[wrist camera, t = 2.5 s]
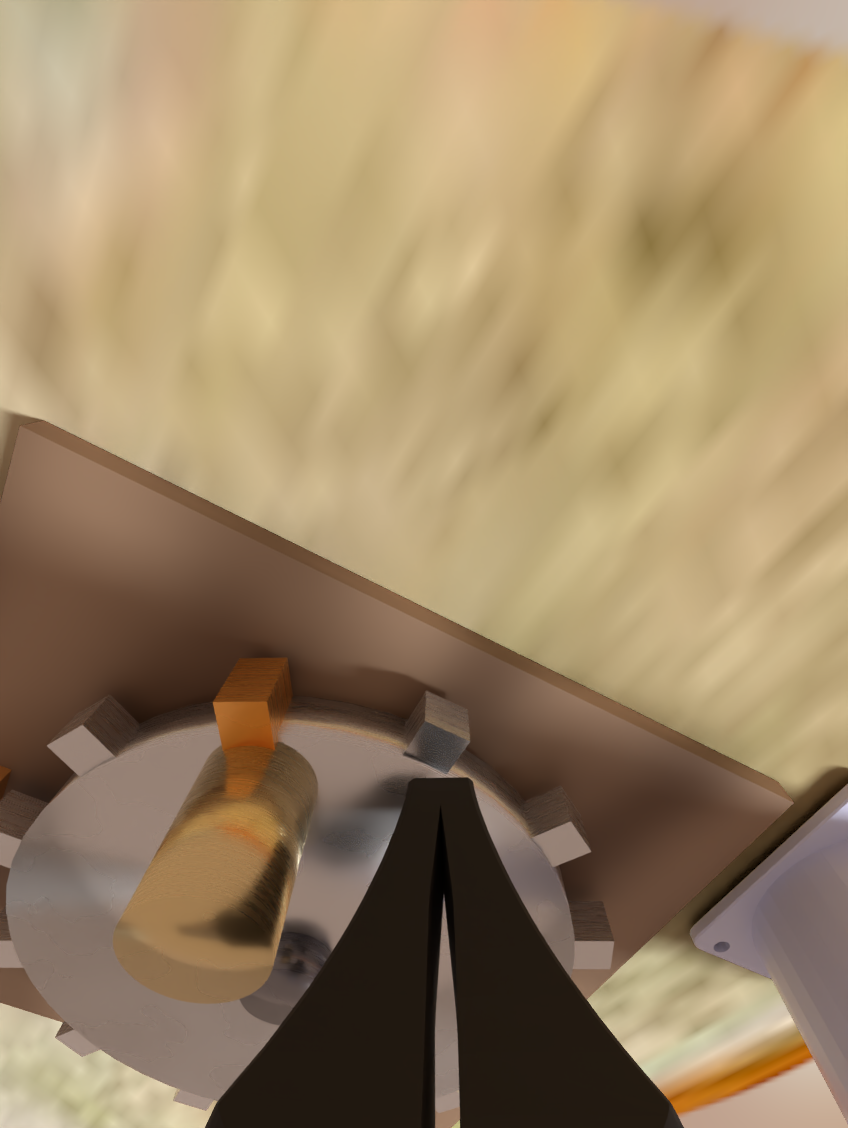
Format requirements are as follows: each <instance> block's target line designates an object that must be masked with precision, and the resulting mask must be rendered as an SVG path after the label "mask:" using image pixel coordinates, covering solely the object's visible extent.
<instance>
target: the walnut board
mask: <svg viewBox="0 0 848 1128" xmlns="http://www.w3.org/2000/svg"><path fill="white" fill-rule="evenodd" d="M239 658H287V659H288V666H289V673H290V680H291V687H292V694H293V696H308V697H316V698H323V699H329V700H336V701H342V702H349V703H353V704H357V705H361V706H365V707H369V708H372V709H376V710H380V711H384V712H387V713H391V714H393V715H396V716H399V717H401V718H404V719H406V720H407V719H408V718H409V716H410V714H411V713H412V711H413V710H414V708H415V707H416V705H417V704H418V702H419V701H420V699H421V697H422V696H423V694H424V693H425V691H428V692H431V693H433V694H435V695H437V696H439V697H441V698H444V699H446V700H448V701H450V702H452V703H454V704H456V705H459V706H461V707H463V708H465V709H467V710H468V720H469V732H470V743H469V744H468V745H467V747H466V748H465V749H467V750H468V751H470V752H471V753H472V754H474V755H475V756H477V757H478V758H480V759H481V760H483V761H484V762H485V763H487V764H488V765H490V766H491V767H492V768H493V769H494V770H495V771H496V772H497V773H499V774H500V775H501V776H502V777H503V778H504V779H505V780H506V781H507V782H508V783H510V784H511V785H512V786H513V787H514V788H515V789H516V790H517V792H518V793H519V794H520V795H521V797H522V798H523V799H524V800H525V801H527V800H529V799H531V798H534V797H536V796H538V795H540V794H543V793H545V792H547V791H550V790H552V789H554V788H556V787H559V786H561V787H562V788H563V789H564V791H565V792H566V794H567V795H568V797H569V798H570V800H571V801H572V803H573V804H574V806H575V807H576V809H577V810H578V812H579V813H580V815H581V818H582V822H583V825H584V828H585V832H586V835H587V838H588V842H589V845H590V848H591V852H590V853H587V854H585V855H582V856H580V857H577V858H575V859H572V860H570V861H567V862H565V863H562V864H560V865H559V866H560V870H561V875H562V879H563V883H564V888H565V892H566V896H567V900H568V901H603V904H604V908H605V911H606V914H607V918H608V921H609V925H610V928H611V931H612V935H613V938H614V947H613V954H612V961H611V968H610V969H573V970H572V975H571V979H572V980H573V982H574V983H575V985H576V986H577V987H578V989H579V990H580V991H581V993H582V994H583V996H584V997H585V998H586V1000H587V999H588V998H589V997H590V996H591V995H592V994H593V993H594V992H595V991H596V990H597V989H598V988H599V987H600V986H601V985H602V984H603V983H604V982H606V981H607V980H608V979H609V978H610V977H611V976H612V975H613V974H614V973H615V972H616V971H617V970H618V969H619V968H620V967H621V966H622V965H623V964H625V963H626V962H627V961H628V960H629V959H630V958H631V957H632V956H633V955H634V954H635V953H636V952H637V951H638V950H639V949H640V948H641V947H642V946H644V945H645V944H646V943H647V942H648V941H649V940H650V939H651V938H652V937H653V936H654V935H655V934H656V933H657V932H658V931H659V930H660V929H661V928H663V927H664V926H665V925H666V924H667V923H668V922H669V921H670V920H671V919H672V918H673V917H674V916H675V915H676V914H677V913H678V912H679V911H681V910H682V909H683V908H684V907H685V906H686V905H687V904H688V903H689V902H690V901H691V900H692V899H693V898H694V897H695V896H696V895H697V894H698V893H700V892H701V891H702V890H703V889H704V888H705V887H706V886H707V885H708V884H709V883H710V882H711V881H712V880H713V879H714V878H715V877H716V876H717V875H719V874H720V873H721V872H722V871H723V870H724V869H725V868H726V867H727V866H728V865H729V864H730V863H731V862H732V861H733V860H734V859H735V858H736V857H738V856H739V855H740V854H741V853H742V852H743V851H744V850H745V849H746V848H747V847H748V846H749V845H750V844H751V843H752V842H753V841H754V840H755V839H757V838H758V837H759V836H760V835H761V834H762V833H763V832H764V831H765V830H766V829H767V828H768V827H769V826H770V825H771V824H772V823H773V822H775V821H776V820H777V819H778V818H779V817H780V816H781V815H782V814H783V813H784V812H785V811H786V810H787V809H788V808H789V807H790V806H791V805H792V804H794V802H793V801H792V799H791V798H790V797H789V795H788V794H787V793H786V792H785V790H784V789H783V788H782V786H781V785H780V784H779V782H777V781H775V780H773V779H771V778H769V777H767V776H765V775H763V774H761V773H759V772H757V771H755V770H753V769H751V768H749V767H747V766H745V765H743V764H741V763H739V762H737V761H735V760H733V759H730V758H728V757H726V756H724V755H722V754H720V753H718V752H716V751H714V750H712V749H710V748H708V747H706V746H704V745H702V744H700V743H698V742H696V741H694V740H692V739H690V738H688V737H686V736H684V735H682V734H680V733H678V732H676V731H674V730H672V729H670V728H667V727H665V726H663V725H661V724H659V723H657V722H655V721H653V720H651V719H649V718H647V717H645V716H643V715H641V714H639V713H637V712H635V711H633V710H631V709H629V708H627V707H625V706H623V705H621V704H619V703H617V702H615V701H613V700H611V699H609V698H607V697H604V696H602V695H600V694H598V693H596V692H594V691H592V690H590V689H588V688H586V687H584V686H582V685H580V684H578V683H576V682H574V681H572V680H570V679H568V678H566V677H564V676H562V675H560V674H558V673H556V672H554V671H552V670H550V669H548V668H546V667H544V666H541V665H539V664H537V663H535V662H533V661H531V660H529V659H527V658H525V657H523V656H521V655H519V654H517V653H515V652H513V651H511V650H509V649H507V648H505V647H503V646H501V645H499V644H497V643H495V642H493V641H491V640H489V639H487V638H485V637H483V636H480V635H478V634H476V633H474V632H472V631H470V630H468V629H466V628H464V627H462V626H460V625H458V624H456V623H454V622H452V621H450V620H448V619H446V618H444V617H442V616H440V615H438V614H436V613H434V612H432V611H430V610H428V609H426V608H424V607H422V606H420V605H417V604H415V603H413V602H411V601H409V600H407V599H405V598H403V597H401V596H399V595H397V594H395V593H393V592H391V591H389V590H387V589H385V588H383V587H381V586H379V585H377V584H375V583H373V582H371V581H369V580H367V579H365V578H363V577H361V576H359V575H357V574H354V573H352V572H350V571H348V570H346V569H344V568H342V567H340V566H338V565H336V564H334V563H332V562H330V561H328V560H326V559H324V558H322V557H320V556H318V555H316V554H314V553H312V552H310V551H308V550H306V549H304V548H302V547H300V546H298V545H296V544H294V543H291V542H289V541H287V540H285V539H283V538H281V537H279V536H277V535H275V534H273V533H271V532H269V531H267V530H265V529H263V528H261V527H259V526H257V525H255V524H253V523H251V522H249V521H247V520H245V519H243V518H241V517H239V516H237V515H235V514H233V513H231V512H228V511H226V510H224V509H222V508H220V507H218V506H216V505H214V504H212V503H210V502H208V501H206V500H204V499H202V498H200V497H198V496H196V495H194V494H192V493H190V492H188V491H186V490H184V489H182V488H180V487H178V486H176V485H174V484H172V483H170V482H168V481H165V480H163V479H161V478H159V477H157V476H155V475H153V474H151V473H149V472H147V471H145V470H143V469H141V468H139V467H137V466H135V465H133V464H131V463H129V462H127V461H125V460H123V459H121V458H119V457H117V456H115V455H113V454H111V453H109V452H107V451H104V450H102V449H100V448H98V447H96V446H94V445H92V444H90V443H88V442H86V441H84V440H82V439H80V438H78V437H76V436H74V435H72V434H70V433H68V432H66V431H64V430H62V429H60V428H58V427H56V426H54V425H52V424H50V423H48V422H46V421H39V422H35V423H30V424H25V425H20V427H19V431H18V435H17V439H16V443H15V447H14V451H13V455H12V459H11V463H10V467H9V471H8V475H7V479H6V483H5V487H4V490H3V494H2V498H1V502H0V802H1V801H2V800H3V799H4V798H5V797H6V796H7V794H8V793H9V792H10V791H11V790H14V791H17V792H20V793H22V794H25V795H27V796H30V797H33V798H35V799H38V800H41V801H43V802H46V803H49V802H50V801H51V800H52V799H53V797H54V796H55V795H56V794H57V793H58V791H59V790H60V789H61V788H62V787H63V785H64V784H65V783H66V782H67V781H68V779H69V778H70V777H71V776H72V775H73V773H74V771H73V770H72V769H71V768H70V767H69V766H68V765H67V764H66V763H65V762H63V761H62V760H61V759H60V758H59V757H58V756H57V755H56V754H55V753H54V752H53V751H52V750H51V749H50V748H48V747H47V745H48V744H49V743H50V742H51V740H52V739H53V738H54V737H55V736H56V735H57V734H58V733H59V732H60V731H61V730H62V729H63V728H64V727H65V726H66V725H67V724H68V723H69V722H70V721H71V720H72V718H73V717H74V716H75V715H76V714H78V713H79V712H81V711H83V710H85V709H86V708H88V707H90V706H91V705H93V704H95V703H96V702H98V701H100V700H102V699H103V698H105V697H107V696H108V695H111V696H112V697H113V698H114V699H115V700H116V701H117V702H118V703H119V704H120V705H121V706H122V707H123V708H124V709H125V710H126V711H127V712H128V713H129V714H130V715H131V716H132V717H133V718H134V719H135V720H136V721H137V722H138V723H139V724H141V723H143V722H145V721H147V720H149V719H151V718H153V717H155V716H158V715H161V714H164V713H167V712H170V711H173V710H177V709H180V708H183V707H186V706H189V705H193V704H198V703H203V702H209V701H214V699H215V698H216V696H217V694H218V693H219V691H220V689H221V688H222V686H223V685H224V683H225V681H226V680H227V678H228V676H229V675H230V673H231V672H232V670H233V668H234V667H235V665H236V663H237V662H238V660H239ZM9 872H10V868H8V867H5V866H2V865H0V913H1V911H2V910H3V909H4V907H5V906H6V886H7V881H8V877H9ZM0 1003H3V1004H7V1005H10V1006H13V1007H16V1008H19V1009H22V1010H25V1011H29V1012H32V1013H35V1014H38V1015H41V1016H44V1017H48V1018H51V1019H54V1020H57V1021H60V1022H64V1020H63V1019H62V1018H61V1017H60V1016H59V1015H58V1014H57V1013H56V1012H55V1011H54V1009H53V1008H52V1007H51V1006H50V1005H49V1004H48V1003H47V1002H46V1000H45V999H44V998H43V997H42V995H41V994H40V993H39V991H38V990H37V989H36V987H35V986H34V985H33V983H32V982H31V980H30V978H29V977H28V975H27V973H26V971H25V969H24V968H0ZM459 1120H460V1107H457V1108H454V1109H451V1110H448V1111H444V1112H441V1113H438V1112H437V1111H436V1110H435V1128H451V1127H452V1126H453V1125H454V1124H456V1123H457V1122H458V1121H459Z"/></svg>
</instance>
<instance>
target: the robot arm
mask: <svg viewBox="0 0 848 1128" xmlns="http://www.w3.org/2000/svg"><path fill="white" fill-rule="evenodd" d="M444 899H445V909H446V919H447V929H448V939H449V948H450V958H451V968H452V977H453V987H454V997H455V1007H456V1020H457V1035H458V1067H459V1100H460V1128H684V1127H683V1125H682V1123H681V1121H680V1119H679V1117H678V1115H677V1114H676V1112H675V1110H674V1108H673V1106H672V1104H671V1103H670V1101H669V1100H668V1099H667V1098H666V1097H665V1096H664V1094H663V1093H662V1092H661V1091H660V1090H659V1089H658V1088H657V1086H656V1085H655V1084H654V1083H653V1082H652V1081H651V1080H650V1078H649V1077H648V1076H647V1075H646V1074H645V1073H644V1072H643V1070H642V1069H641V1068H640V1067H639V1066H638V1064H637V1063H636V1062H635V1061H634V1060H633V1058H632V1057H631V1056H630V1055H629V1054H628V1053H627V1051H626V1050H625V1049H624V1048H623V1046H622V1045H621V1044H620V1043H619V1041H618V1040H617V1039H616V1038H615V1036H614V1035H613V1034H612V1033H611V1031H610V1030H609V1029H608V1028H607V1026H606V1025H605V1024H604V1023H603V1021H602V1020H601V1019H600V1018H599V1016H598V1015H597V1013H596V1012H595V1011H594V1009H593V1008H592V1007H591V1005H590V1004H589V1002H588V1001H587V1000H586V998H585V997H584V996H583V994H582V993H581V991H580V990H579V989H578V987H577V986H576V985H575V983H574V982H573V980H572V979H571V978H570V976H569V975H568V974H567V972H566V971H565V969H564V968H563V966H562V965H561V963H560V962H559V960H558V959H557V957H556V956H555V954H554V953H553V951H552V950H551V948H550V947H549V945H548V944H547V942H546V940H545V939H544V937H543V935H542V934H541V932H540V931H539V929H538V927H537V926H536V924H535V922H534V921H533V919H532V917H531V916H530V914H529V912H528V910H527V909H526V907H525V905H524V903H523V902H522V900H521V898H520V896H519V894H518V892H517V890H516V888H515V887H514V885H513V883H512V881H511V879H510V877H509V875H508V873H507V871H506V869H505V867H504V865H503V863H502V861H501V858H500V856H499V854H498V852H497V850H496V847H495V845H494V843H493V841H492V838H491V836H490V834H489V831H488V829H487V826H486V824H485V821H484V818H483V816H482V813H481V810H480V807H479V804H478V801H477V797H476V793H475V790H474V784H473V781H472V780H471V779H470V778H468V777H452V778H413V779H412V780H411V781H410V782H409V783H408V788H407V793H406V797H405V800H404V804H403V807H402V810H401V813H400V816H399V819H398V822H397V824H396V827H395V830H394V832H393V835H392V837H391V839H390V842H389V844H388V847H387V849H386V851H385V854H384V856H383V858H382V861H381V863H380V865H379V867H378V869H377V871H376V873H375V875H374V877H373V879H372V881H371V883H370V885H369V887H368V889H367V891H366V894H365V896H364V897H363V899H362V901H361V903H360V905H359V907H358V909H357V910H356V912H355V914H354V916H353V918H352V919H351V921H350V923H349V925H348V926H347V928H346V930H345V931H344V933H343V935H342V936H341V938H340V940H339V941H338V943H337V945H336V946H335V948H334V949H333V951H332V952H331V954H330V956H329V957H328V959H327V960H326V962H325V963H324V965H323V966H322V968H321V969H320V971H319V973H318V974H317V976H316V977H315V978H314V980H313V981H312V983H311V984H310V986H309V987H308V989H307V990H306V991H305V993H304V994H303V996H302V997H301V998H300V1000H299V1001H298V1002H297V1004H296V1005H295V1006H294V1008H293V1009H292V1010H291V1012H290V1013H289V1014H288V1016H287V1017H286V1018H285V1020H284V1021H283V1022H282V1024H281V1025H280V1026H279V1028H278V1029H277V1030H276V1032H275V1033H274V1034H273V1036H272V1037H271V1038H270V1039H269V1041H268V1042H267V1043H266V1044H265V1046H264V1047H263V1048H262V1049H261V1051H260V1052H259V1053H258V1054H257V1055H256V1056H255V1058H254V1059H253V1060H252V1061H251V1062H250V1064H249V1065H248V1066H247V1067H246V1068H245V1069H244V1071H243V1072H242V1073H241V1074H240V1075H239V1077H238V1078H237V1079H236V1080H235V1081H234V1082H233V1084H232V1085H231V1086H230V1087H229V1088H228V1089H227V1091H226V1092H225V1093H224V1094H223V1095H222V1096H221V1098H220V1099H219V1100H218V1102H217V1103H216V1105H215V1107H214V1110H213V1112H212V1114H211V1116H210V1118H209V1120H208V1122H207V1124H206V1127H205V1128H435V1023H436V1002H437V987H438V973H439V959H440V944H441V930H442V916H443V901H444ZM690 936H691V938H692V940H693V943H694V945H695V947H697V948H698V949H700V950H703V951H705V952H708V953H710V954H712V955H715V956H717V957H720V958H722V959H724V960H727V961H729V962H732V963H734V964H736V965H739V966H741V967H744V968H746V969H748V970H751V971H753V972H756V973H758V974H760V975H763V976H765V977H768V978H770V979H772V980H773V982H774V984H775V986H776V988H777V990H778V992H779V993H780V995H781V997H782V999H783V1001H784V1003H785V1005H786V1007H787V1009H788V1011H789V1013H790V1015H791V1016H792V1018H793V1020H794V1022H795V1024H796V1026H797V1028H798V1030H799V1032H800V1034H801V1036H802V1037H803V1039H804V1041H805V1043H806V1045H807V1047H808V1049H809V1051H810V1053H811V1055H812V1057H813V1059H814V1060H815V1062H816V1064H817V1066H818V1068H819V1070H820V1072H821V1074H822V1076H823V1077H824V1080H825V1081H826V1083H827V1085H828V1087H829V1089H830V1091H831V1093H832V1095H833V1096H834V1099H835V1101H836V1102H837V1104H838V1106H839V1108H840V1110H841V1112H842V1114H843V1116H844V1118H845V1120H846V1122H847V1123H848V784H847V785H845V786H844V787H843V788H842V789H841V790H840V791H839V792H838V793H837V794H836V795H835V796H834V797H832V798H831V799H830V800H829V801H828V802H827V803H826V804H825V805H824V806H823V807H822V808H821V809H819V810H818V811H817V812H816V813H815V814H814V815H813V816H812V817H811V818H810V819H809V820H807V821H806V822H805V823H804V824H803V825H802V826H801V827H800V828H799V829H798V830H797V831H796V832H794V833H793V834H792V835H791V836H790V837H789V838H788V839H787V840H786V841H785V842H784V843H782V844H781V845H780V846H779V847H778V848H777V849H776V850H775V851H774V852H773V853H772V854H771V855H769V856H768V857H767V858H766V859H765V860H764V861H763V862H762V863H761V864H760V865H759V866H758V867H756V868H755V869H754V870H753V871H752V872H751V873H750V874H749V875H748V876H747V877H746V878H744V879H743V880H742V881H741V882H740V883H739V884H738V885H737V886H736V887H735V888H734V889H733V890H731V891H730V892H729V893H728V894H727V895H726V896H725V897H724V898H723V899H722V900H721V901H719V902H718V903H717V904H716V905H715V906H714V907H713V908H712V909H711V910H710V911H709V912H708V913H706V914H705V915H704V916H703V917H702V918H701V919H700V920H699V921H698V922H697V923H696V924H695V925H693V927H692V928H691V930H690Z"/></svg>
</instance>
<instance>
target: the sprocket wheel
mask: <svg viewBox="0 0 848 1128" xmlns="http://www.w3.org/2000/svg"><path fill="white" fill-rule="evenodd" d="M469 743H470V732H469V720H468V710H467V709H465V708H463V707H461V706H459V705H456V704H454V703H452V702H450V701H448V700H446V699H444V698H441V697H439V696H437V695H435V694H433V693H431V692H428V691H425V693H424V694H423V696H422V697H421V699H420V701H419V702H418V704H417V705H416V707H415V708H414V710H413V711H412V713H411V714H410V716H409V718H408V719H407V720H406V719H404V718H401V717H399V716H396V715H393V714H391V713H387V712H384V711H380V710H376V709H372V708H369V707H365V706H361V705H357V704H353V703H349V702H342V701H336V700H329V699H323V698H316V697H308V696H293V694H292V687H291V680H290V673H289V666H288V659H287V658H239V660H238V662H237V663H236V665H235V667H234V668H233V670H232V672H231V673H230V675H229V676H228V678H227V680H226V681H225V683H224V685H223V686H222V688H221V689H220V691H219V693H218V694H217V696H216V698H215V699H214V701H209V702H203V703H198V704H193V705H189V706H186V707H183V708H180V709H177V710H173V711H170V712H167V713H164V714H161V715H158V716H155V717H153V718H151V719H149V720H147V721H145V722H143V723H141V724H139V723H138V722H137V721H136V720H135V719H134V718H133V717H132V716H131V715H130V714H129V713H128V712H127V711H126V710H125V709H124V708H123V707H122V706H121V705H120V704H119V703H118V702H117V701H116V700H115V699H114V698H113V697H112V696H111V695H108V696H107V697H105V698H103V699H102V700H100V701H98V702H96V703H95V704H93V705H91V706H90V707H88V708H86V709H85V710H83V711H81V712H79V713H78V714H76V715H75V716H74V717H73V718H72V720H71V721H70V722H69V723H68V724H67V725H66V726H65V727H64V728H63V729H62V730H61V731H60V732H59V733H58V734H57V735H56V736H55V737H54V738H53V739H52V740H51V742H50V743H49V744H48V745H47V747H48V748H50V749H51V750H52V751H53V752H54V753H55V754H56V755H57V756H58V757H59V758H60V759H61V760H62V761H63V762H65V763H66V764H67V765H68V766H69V767H70V768H71V769H72V770H73V771H74V773H73V775H72V776H71V777H70V778H69V779H68V781H67V782H66V783H65V784H64V785H63V787H62V788H61V789H60V790H59V791H58V793H57V794H56V795H55V796H54V797H53V799H52V800H51V801H50V802H49V803H46V802H43V801H41V800H38V799H35V798H33V797H30V796H27V795H25V794H22V793H20V792H17V791H14V790H11V791H10V792H9V793H8V794H7V796H6V797H5V798H4V799H3V800H2V801H1V802H0V865H2V866H5V867H8V868H10V872H9V877H8V881H7V886H6V906H5V907H4V909H3V910H2V911H1V913H0V968H24V969H25V971H26V973H27V975H28V977H29V978H30V980H31V982H32V983H33V985H34V986H35V987H36V989H37V990H38V991H39V993H40V994H41V995H42V997H43V998H44V999H45V1000H46V1002H47V1003H48V1004H49V1005H50V1006H51V1007H52V1008H53V1009H54V1011H55V1012H56V1013H57V1014H58V1015H59V1016H60V1017H61V1018H62V1019H63V1020H64V1022H63V1024H62V1026H61V1028H60V1029H59V1031H58V1033H57V1035H56V1037H55V1038H56V1039H58V1040H59V1041H61V1042H62V1043H63V1044H65V1045H66V1046H68V1047H69V1048H70V1049H72V1050H73V1051H75V1052H76V1053H77V1054H79V1055H80V1056H82V1057H83V1056H85V1055H88V1054H90V1053H93V1052H95V1051H98V1050H100V1049H101V1050H102V1051H104V1052H105V1053H107V1054H108V1055H110V1056H111V1057H113V1058H114V1059H116V1060H118V1061H120V1062H122V1063H123V1064H125V1065H127V1066H129V1067H131V1068H133V1069H134V1070H136V1071H138V1072H140V1073H142V1074H144V1075H146V1076H149V1077H151V1078H153V1079H156V1080H158V1081H160V1082H162V1083H165V1084H167V1085H169V1086H172V1087H175V1088H177V1091H176V1094H175V1096H174V1099H173V1101H176V1102H179V1103H182V1104H186V1105H189V1106H192V1107H195V1108H199V1109H202V1110H205V1111H206V1110H207V1109H208V1107H209V1106H210V1105H211V1103H212V1102H213V1100H216V1101H218V1100H219V1099H220V1098H221V1096H222V1095H223V1094H224V1093H225V1092H226V1091H227V1089H228V1088H229V1087H230V1086H231V1085H232V1084H233V1082H234V1081H235V1080H236V1079H237V1078H238V1077H239V1075H240V1074H241V1073H242V1072H243V1071H244V1069H245V1068H246V1067H247V1066H248V1065H249V1064H250V1062H251V1061H252V1060H253V1059H254V1058H255V1056H256V1055H257V1054H258V1053H259V1052H260V1051H261V1049H262V1048H263V1047H264V1046H265V1044H266V1043H267V1042H268V1041H269V1039H270V1038H271V1037H272V1036H273V1034H274V1033H275V1032H276V1030H277V1029H278V1028H279V1026H280V1025H281V1024H282V1022H283V1021H284V1020H285V1018H286V1017H287V1016H288V1014H289V1013H290V1012H291V1010H292V1009H293V1008H294V1006H295V1005H296V1004H297V1002H298V1001H299V1000H300V998H301V997H302V996H303V994H304V993H305V991H306V990H307V989H308V987H309V986H310V984H311V983H312V981H313V980H314V978H315V977H316V976H317V974H318V973H319V971H320V969H321V968H322V966H323V965H324V963H325V962H326V960H327V959H328V957H329V956H330V954H331V952H332V951H333V949H334V948H335V946H336V945H337V943H338V941H339V940H340V938H341V936H342V935H343V933H344V931H345V930H346V928H347V926H348V925H349V923H350V921H351V919H352V918H353V916H354V914H355V912H356V910H357V909H358V907H359V905H360V903H361V901H362V899H363V897H364V896H365V894H366V891H367V889H368V887H369V885H370V883H371V881H372V879H373V877H374V875H375V873H376V871H377V869H378V867H379V865H380V863H381V861H382V858H383V856H384V854H385V851H386V849H387V847H388V844H389V842H390V839H391V837H392V835H393V832H394V830H395V827H396V824H397V822H398V819H399V816H400V813H401V810H402V807H403V804H404V800H405V797H406V793H407V788H408V783H409V782H410V781H411V780H412V779H413V778H452V777H468V778H470V779H471V780H472V781H473V784H474V790H475V793H476V797H477V801H478V804H479V807H480V810H481V813H482V816H483V818H484V821H485V824H486V826H487V829H488V831H489V834H490V836H491V838H492V841H493V843H494V845H495V847H496V850H497V852H498V854H499V856H500V858H501V861H502V863H503V865H504V867H505V869H506V871H507V873H508V875H509V877H510V879H511V881H512V883H513V885H514V887H515V888H516V890H517V892H518V894H519V896H520V898H521V900H522V902H523V903H524V905H525V907H526V909H527V910H528V912H529V914H530V916H531V917H532V919H533V921H534V922H535V924H536V926H537V927H538V929H539V931H540V932H541V934H542V935H543V937H544V939H545V940H546V942H547V944H548V945H549V947H550V948H551V950H552V951H553V953H554V954H555V956H556V957H557V959H558V960H559V962H560V963H561V965H562V966H563V968H564V969H565V971H566V972H567V974H568V975H569V976H570V978H571V975H572V970H573V969H610V968H611V961H612V954H613V947H614V938H613V935H612V931H611V928H610V925H609V921H608V918H607V914H606V911H605V908H604V904H603V901H568V900H567V896H566V892H565V888H564V883H563V879H562V875H561V870H560V866H559V865H560V864H562V863H565V862H567V861H570V860H572V859H575V858H577V857H580V856H582V855H585V854H587V853H590V852H591V848H590V845H589V842H588V838H587V835H586V832H585V828H584V825H583V822H582V818H581V815H580V813H579V812H578V810H577V809H576V807H575V806H574V804H573V803H572V801H571V800H570V798H569V797H568V795H567V794H566V792H565V791H564V789H563V788H562V787H561V786H559V787H556V788H554V789H552V790H550V791H547V792H545V793H543V794H540V795H538V796H536V797H534V798H531V799H529V800H527V801H525V800H524V799H523V798H522V797H521V795H520V794H519V793H518V792H517V790H516V789H515V788H514V787H513V786H512V785H511V784H510V783H508V782H507V781H506V780H505V779H504V778H503V777H502V776H501V775H500V774H499V773H497V772H496V771H495V770H494V769H493V768H492V767H491V766H490V765H488V764H487V763H485V762H484V761H483V760H481V759H480V758H478V757H477V756H475V755H474V754H472V753H471V752H470V751H468V750H467V749H465V748H466V747H467V745H468V744H469ZM457 1107H460V1100H459V1067H458V1035H457V1020H456V1007H455V997H454V987H453V977H452V968H451V958H450V948H449V939H448V929H447V919H446V909H445V899H444V901H443V916H442V930H441V944H440V959H439V973H438V987H437V1002H436V1023H435V1110H436V1111H437V1112H438V1113H441V1112H444V1111H448V1110H451V1109H454V1108H457Z"/></svg>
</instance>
